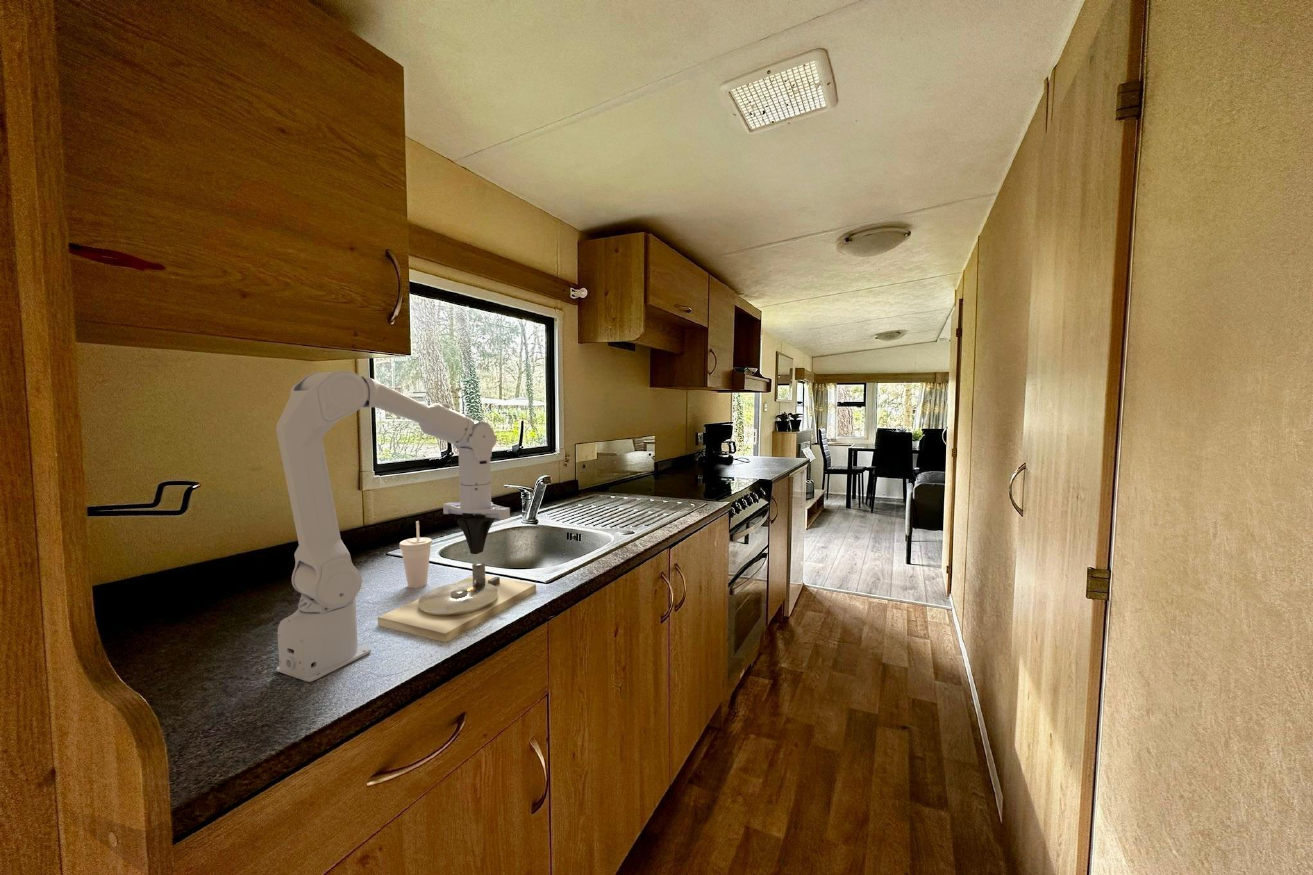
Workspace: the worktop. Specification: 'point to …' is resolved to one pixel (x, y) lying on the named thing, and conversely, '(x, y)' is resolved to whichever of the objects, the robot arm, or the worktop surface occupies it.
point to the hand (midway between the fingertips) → (476, 552)
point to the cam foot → (460, 596)
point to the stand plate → (452, 626)
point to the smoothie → (416, 559)
